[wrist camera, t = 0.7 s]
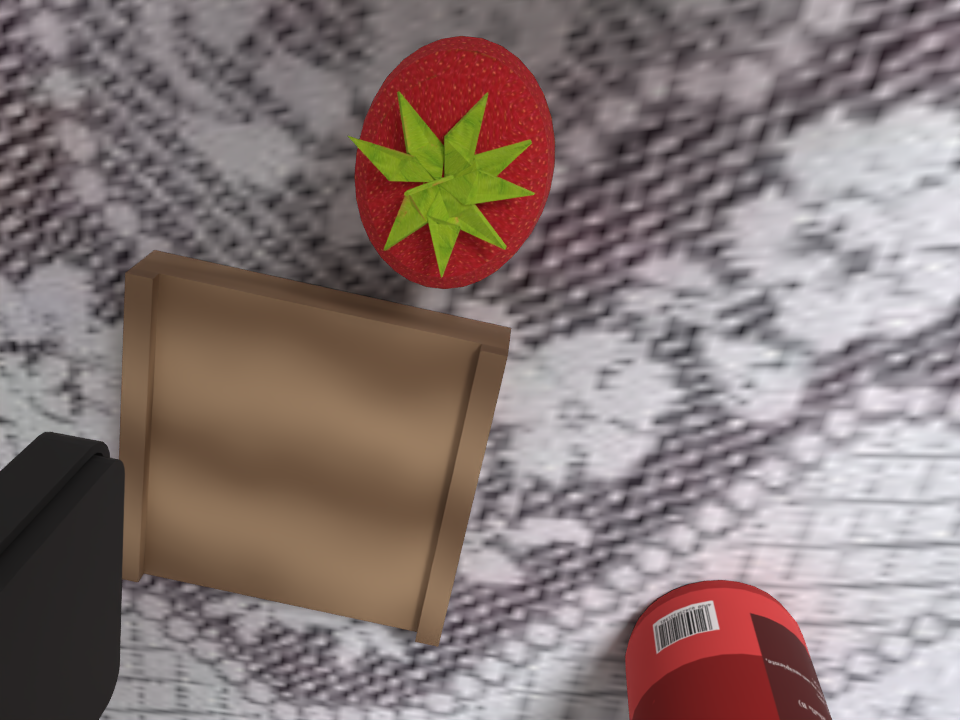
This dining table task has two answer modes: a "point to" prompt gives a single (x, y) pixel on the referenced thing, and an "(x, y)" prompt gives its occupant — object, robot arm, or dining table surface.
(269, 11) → the dining table surface
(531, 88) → the strawberry
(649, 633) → the canned food
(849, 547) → the dining table surface
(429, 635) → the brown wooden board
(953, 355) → the dining table surface
